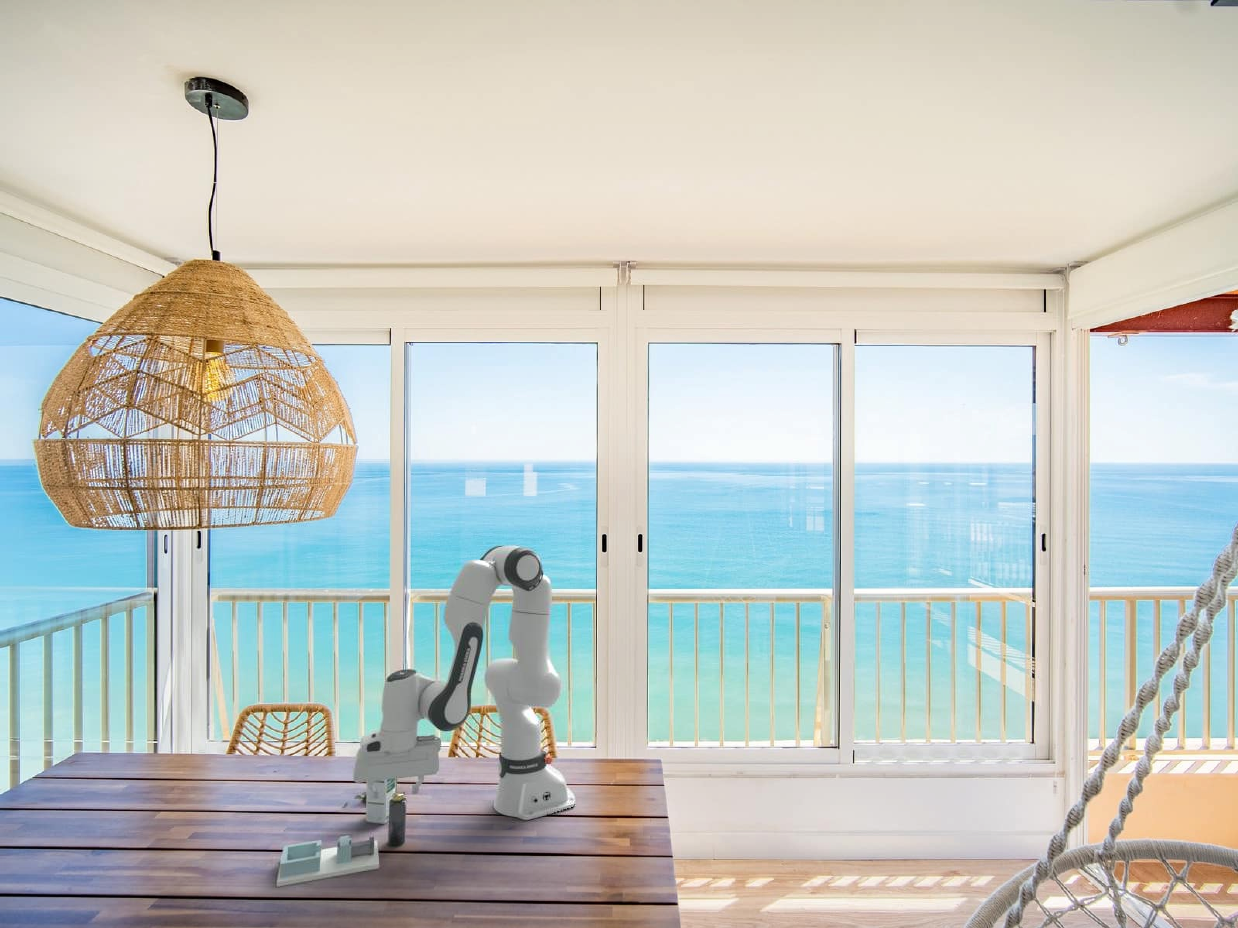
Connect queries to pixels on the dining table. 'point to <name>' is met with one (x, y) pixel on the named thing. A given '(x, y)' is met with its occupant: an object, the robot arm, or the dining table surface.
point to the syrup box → (380, 801)
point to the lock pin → (362, 847)
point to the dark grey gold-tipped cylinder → (397, 820)
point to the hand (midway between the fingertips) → (395, 795)
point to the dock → (322, 861)
